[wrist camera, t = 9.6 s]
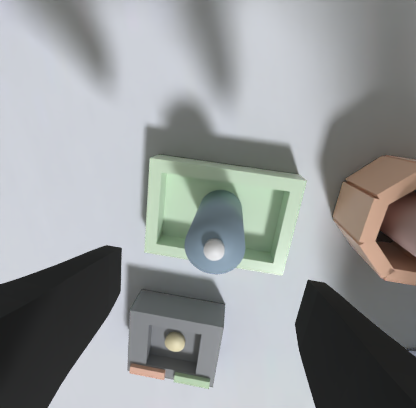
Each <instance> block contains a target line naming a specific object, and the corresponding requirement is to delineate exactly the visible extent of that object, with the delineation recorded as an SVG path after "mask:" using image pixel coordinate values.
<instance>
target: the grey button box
mask: <svg viewBox="0 0 416 408" xmlns="http://www.w3.org/2000/svg"><path fill="white" fill-rule="evenodd" d="M224 314H225V304H221V303H215V302H209V301H204V300H198V299H193V298H187V297H181V296H176V295H170V294H165V293H159V292H153V291H148V290H141V291H140V293H139V295H138V297H137V298H136V300H135V302H134V304H133V306H132V307H131V309H130V317H129V343H128V369H127V370H128V371H130V373H131V374H136V375H141V376H146V377H151V378H156V379H161V380H164V378H168V379H173V380H174V382H176V383H181V384H186V385H191V386H196V387H201V388H206V389H209V387H213V383H214V377H215V372H216V367H217V361H218V356H219V350H220V345H221V340H222V334H223V329H224Z"/></svg>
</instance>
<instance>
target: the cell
mask: <svg viewBox="0 0 416 408" xmlns="http://www.w3.org/2000/svg"><path fill="white" fill-rule="evenodd" d="M184 247H185V252H186V255H187V257H188V259H189V261H190V262H191V263H192V264H193V265H194V266H195V267H196V268H198V269H199V270H201V271H203V272H206V273H210V274H222V273H226V272H229V271H231V270H233V269H234V268H236V267H237V266H238V265H239V264H240V262H241V261H242V259H243V257H244V254H245V237H244V225H243V213H242V205H241V202H240V200H239V199H238V198H237V197H236V196H235V195H234V194H233V193H231V192H229V191H226V190H215V191H212V192H210V193H208V194H207V195H206V196H205V197H204V198H203V199H202V201H201V203H200V206H199V208H198V210H197V212H196V215H195V217H194V219H193V222H192V224H191V226H190V229H189V231H188V233H187V235H186V238H185V244H184Z"/></svg>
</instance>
